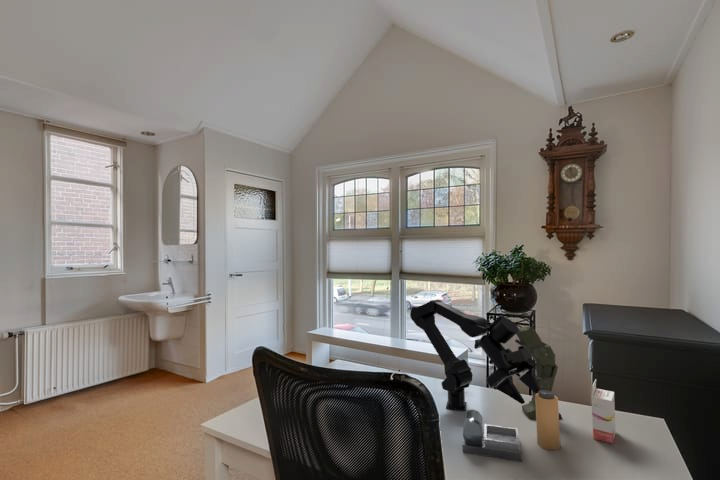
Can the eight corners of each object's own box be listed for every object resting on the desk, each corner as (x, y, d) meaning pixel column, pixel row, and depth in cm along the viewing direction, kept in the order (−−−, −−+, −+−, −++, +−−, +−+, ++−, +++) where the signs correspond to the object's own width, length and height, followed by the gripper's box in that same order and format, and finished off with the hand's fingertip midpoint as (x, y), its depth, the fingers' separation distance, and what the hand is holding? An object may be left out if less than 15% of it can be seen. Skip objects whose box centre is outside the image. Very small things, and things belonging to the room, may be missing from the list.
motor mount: (465, 431, 106) (464, 407, 106) (517, 438, 101) (516, 414, 101) (462, 452, 95) (461, 426, 95) (521, 461, 90) (520, 434, 90)
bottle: (536, 437, 101) (533, 388, 102) (558, 440, 99) (555, 390, 100) (538, 448, 96) (536, 395, 96) (562, 451, 94) (559, 397, 95)
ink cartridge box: (614, 444, 97) (611, 390, 97) (592, 439, 100) (590, 386, 100) (616, 432, 103) (614, 381, 104) (596, 427, 106) (594, 377, 107)
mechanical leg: (565, 407, 118) (538, 320, 120) (575, 417, 111) (547, 324, 113) (523, 416, 119) (498, 329, 121) (531, 427, 112) (504, 334, 114)
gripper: (493, 341, 101) (533, 392, 92) (528, 332, 112) (567, 377, 102) (472, 363, 107) (507, 413, 98) (507, 352, 118) (542, 396, 108)
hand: (532, 399), depth 101 cm, fingers open, 9 cm apart
